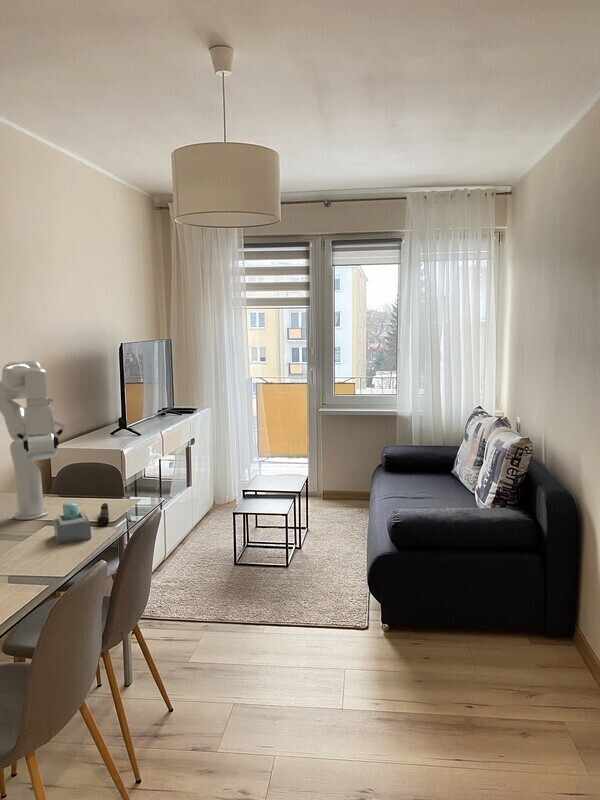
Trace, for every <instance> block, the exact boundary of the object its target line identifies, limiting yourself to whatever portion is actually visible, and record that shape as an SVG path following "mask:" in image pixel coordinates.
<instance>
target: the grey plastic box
mask: <svg viewBox="0 0 600 800" xmlns="http://www.w3.org/2000/svg"><path fill="white" fill-rule="evenodd" d="M78 515H79V518H77V519H70V520H64V515H63V514H59V515H58V514H57V515H56V518H55V519H53V529H54V530H53V531H54V537H55V539H56V542H57V544H58V545H62V544H63V543H64V544H68V543H75V542H80V541H81V542H82V541H85V540H86V541H87V540H92V530H91V522H90V520H89V518H88V516H87V515H86V514H85V513H84V512H83V511H78ZM64 544H63V545H64Z"/></svg>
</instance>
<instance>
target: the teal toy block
mask: <svg viewBox="0 0 600 800" xmlns="http://www.w3.org/2000/svg"><path fill="white" fill-rule="evenodd" d="M78 512H79V504H78V502H75V501H73V502H67V503H63V504H62V515H64V520H70V519H77V518H79V515H78Z"/></svg>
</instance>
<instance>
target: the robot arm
mask: <svg viewBox="0 0 600 800" xmlns="http://www.w3.org/2000/svg"><path fill="white" fill-rule="evenodd" d="M47 375H48V373H47V371H46V369H44V368H42V366H41V365H40V363H39V362H38V361H36V360H35V361H34V360H22V361H11V362H8V363H7V364H5V365H3V368H2V373H1V380H0V414H1V415H2V416H3V418H4V419H3V420H4V422H5V425H6V428H7V433H8V434H9V435H8V436H10V438H11V439H12V440H13V441H12V442H11V443H10V446H9V451H10V452H9V453H10V455H11V459H12V464H13V468H14V469H13V470H14V478H15V479H14V481H15V492H16V493H15V494H16V502H17V512H16V513H14V515H13V518H15V520H21V521H25V520H34V519H39V518H43V517H45V516H47V515H48V514H49V510H48V509H47V508H44V499H43V498H44V496H43V495H44V494H43V482H42V473H41V469H40V468H39V467H38V466H37V465H36V464H35V463H34V462H35V461H41V460H47V459H51V458H55V457H56V456H57V454H58V452H59V447H58V446H59V437H60V436H61V434H62V433H63V431H64V429H65V427H66V425H65V424H64V423H62V422H59V421H56V420H55V418H54V413H53V408H52V405H50V404H51V403H54V399H53V398H50V397H49V390H48V389H49V388H48V385H49V384H48V376H47ZM21 399H23V400H24V399H25V400H26V402H25V403H26V406H25V407H23V406H22V405H21V404H19V403H18V402H17V401H14V400H21ZM55 426H57V427H59V429H58V430H57V432H56V427H55Z"/></svg>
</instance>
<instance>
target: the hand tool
mask: <svg viewBox="0 0 600 800" xmlns="http://www.w3.org/2000/svg"><path fill="white" fill-rule="evenodd" d="M109 514H110V513H109V505H108V504H107V502H103V503H102V504H101V506H100V514H99V517H98V518H97V526H98V527H106V526H108V525H109V523H110V522H109V521H110V519H109V516H110V515H109Z"/></svg>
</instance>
